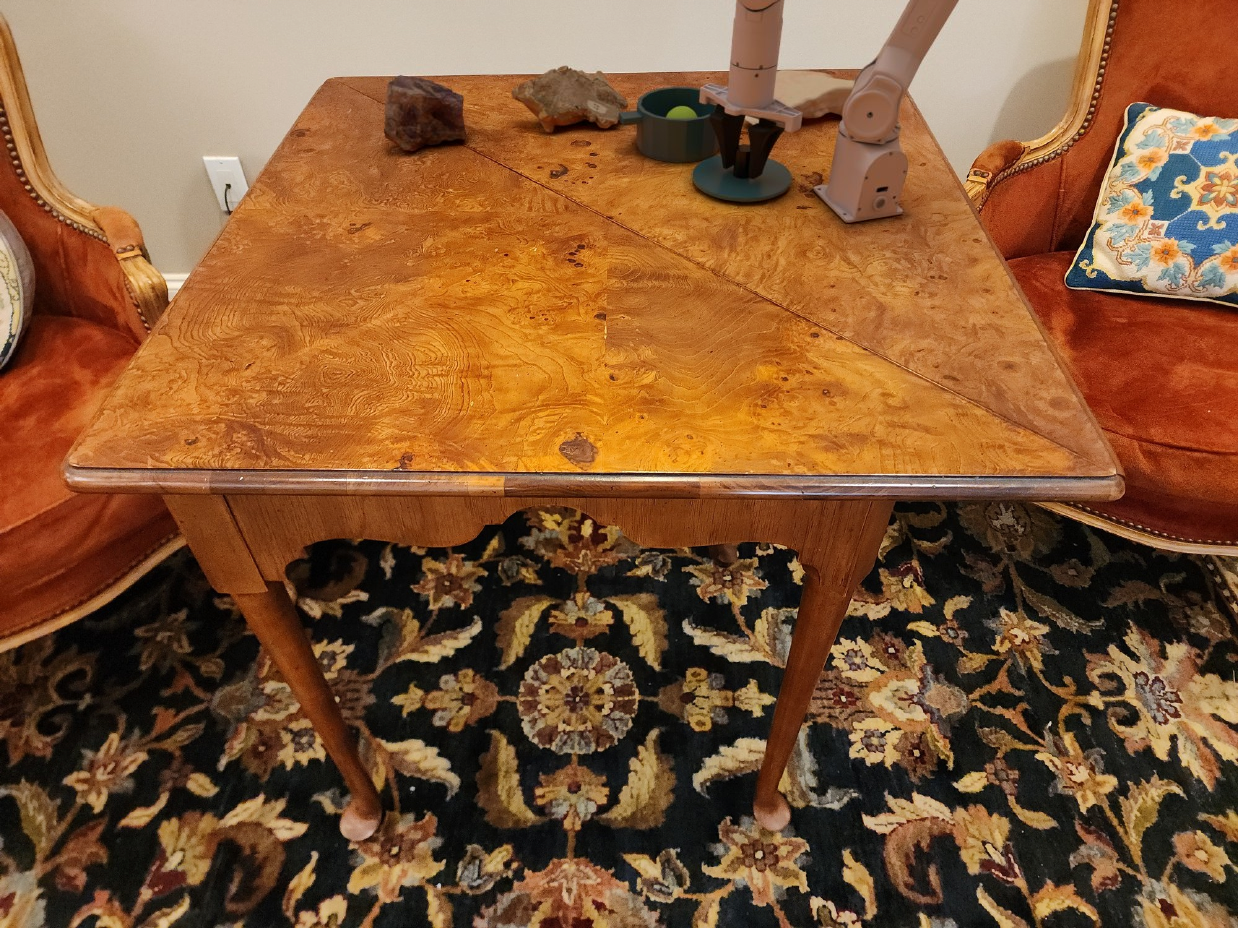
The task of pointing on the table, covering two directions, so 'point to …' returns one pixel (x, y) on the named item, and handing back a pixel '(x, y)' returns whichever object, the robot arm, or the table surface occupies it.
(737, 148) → the lid
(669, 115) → the ball
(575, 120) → the mineral specimen
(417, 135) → the rock
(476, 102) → the table surface
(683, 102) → the pot
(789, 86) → the decorative stone
